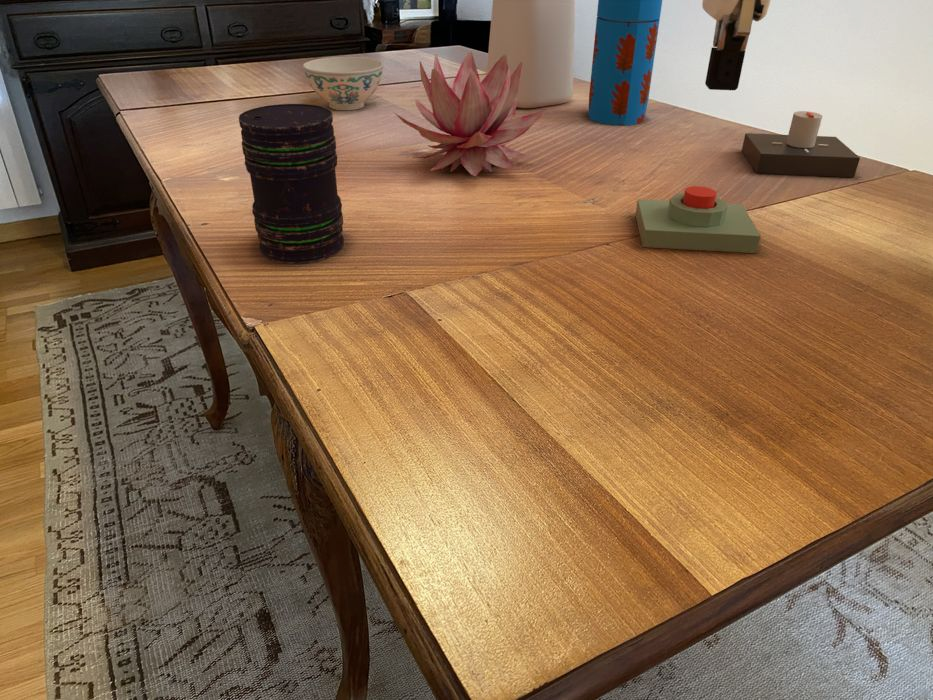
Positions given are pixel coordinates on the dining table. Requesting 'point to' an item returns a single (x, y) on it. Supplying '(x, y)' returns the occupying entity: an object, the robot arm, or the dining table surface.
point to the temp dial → (804, 129)
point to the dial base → (799, 156)
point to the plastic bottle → (535, 47)
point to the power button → (699, 197)
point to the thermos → (623, 60)
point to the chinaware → (344, 80)
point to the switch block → (696, 226)
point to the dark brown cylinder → (293, 181)
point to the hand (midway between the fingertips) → (720, 87)
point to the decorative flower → (473, 116)
